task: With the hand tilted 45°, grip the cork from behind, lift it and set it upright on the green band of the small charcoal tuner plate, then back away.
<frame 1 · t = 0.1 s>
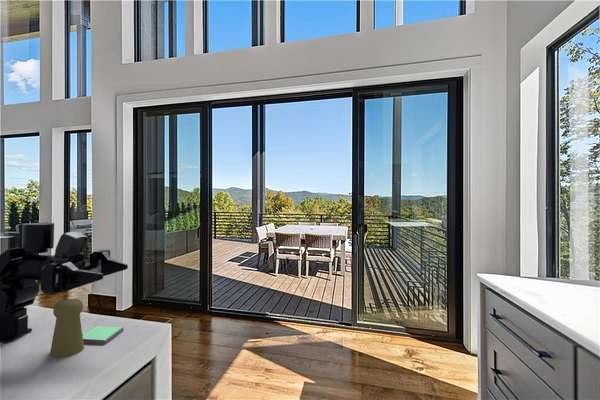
hand: (115, 271, 73), 17 cm above the kitchen island, tool horizontal, fingers open, 9 cm apart
cork: (67, 351, 69), on the kitchen island
tuner plate: (100, 336, 76), on the kitchen island
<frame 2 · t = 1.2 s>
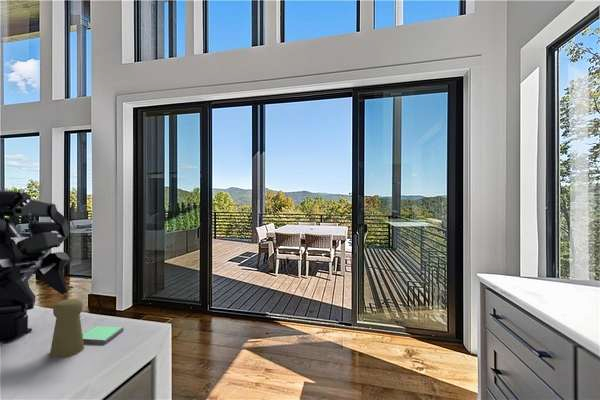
hand: (49, 297, 68), 11 cm above the kitchen island, tool tilted 45°, fingers open, 9 cm apart
nothing on the kitchen island moved.
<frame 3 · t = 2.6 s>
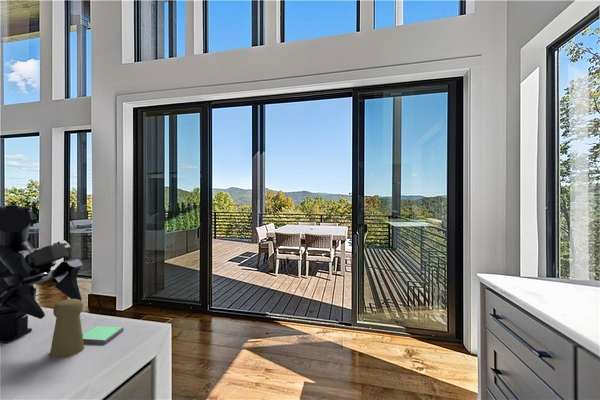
hand: (62, 308, 68), 9 cm above the kitchen island, tool tilted 45°, fingers open, 9 cm apart
nothing on the kitchen island moved.
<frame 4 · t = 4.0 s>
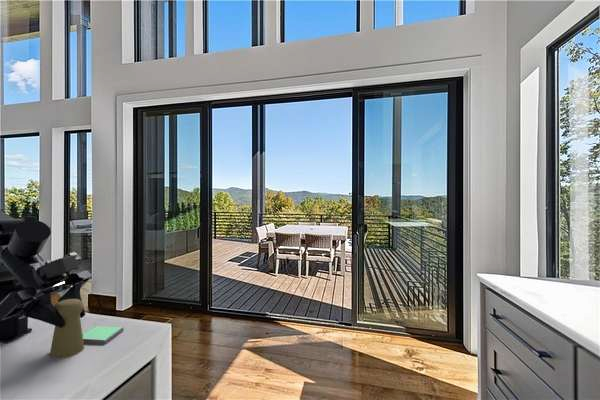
hand: (74, 321, 69), 7 cm above the kitchen island, tool tilted 45°, fingers closed on cork, 5 cm apart
cork: (67, 351, 69), on the kitchen island, touching gripper
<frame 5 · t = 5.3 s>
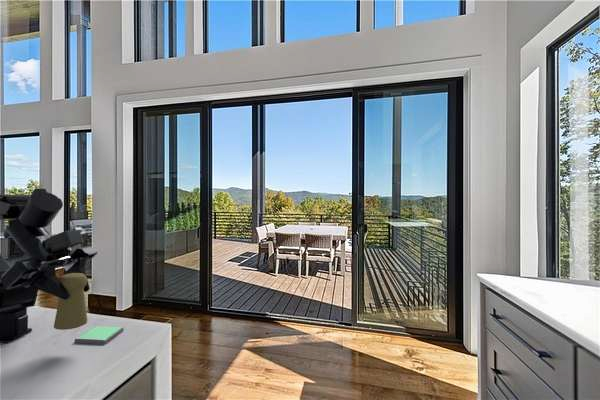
hand: (78, 294, 69), 12 cm above the kitchen island, tool tilted 45°, fingers closed on cork, 5 cm apart
cork: (70, 324, 69), point 5 cm above the kitchen island, touching gripper
when the fingers open (9 cm above the kitchen island, at t = 7.0 s): cork stays where it is, resting on tuner plate.
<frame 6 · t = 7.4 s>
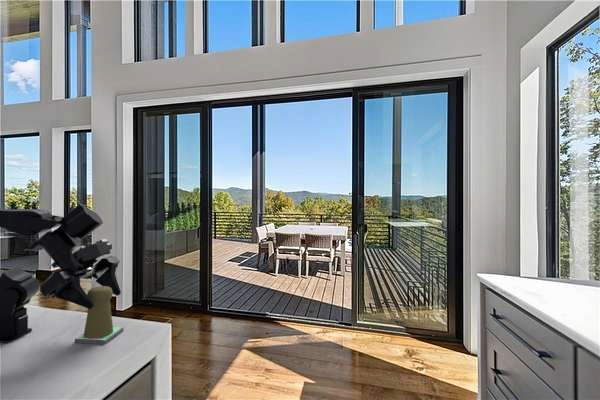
hand: (106, 300, 75), 9 cm above the kitchen island, tool tilted 45°, fingers open, 9 cm apart
cork: (98, 333, 76), point 1 cm above the kitchen island, touching tuner plate
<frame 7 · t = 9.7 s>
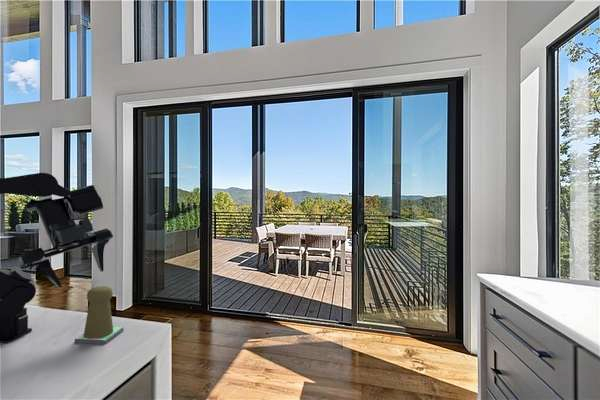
hand: (82, 279, 78), 13 cm above the kitchen island, tool tilted 25°, fingers open, 9 cm apart
nothing on the kitchen island moved.
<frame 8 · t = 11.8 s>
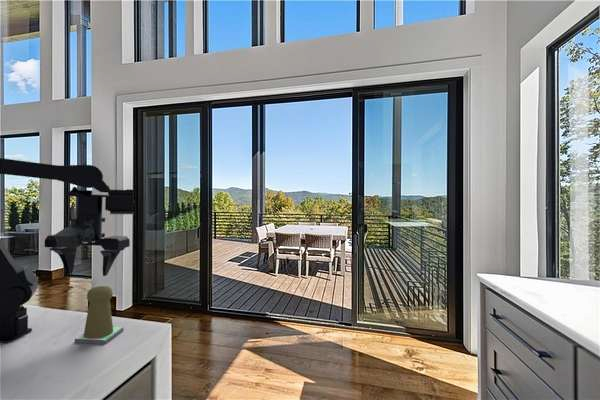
hand: (87, 274, 81), 13 cm above the kitchen island, tool pointing down, fingers open, 9 cm apart
nothing on the kitchen island moved.
at the end: cork 0.4 cm from the target spot, point 0.7 cm above the kitchen island; cork tilted 0°; the gripper is holding nothing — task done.
